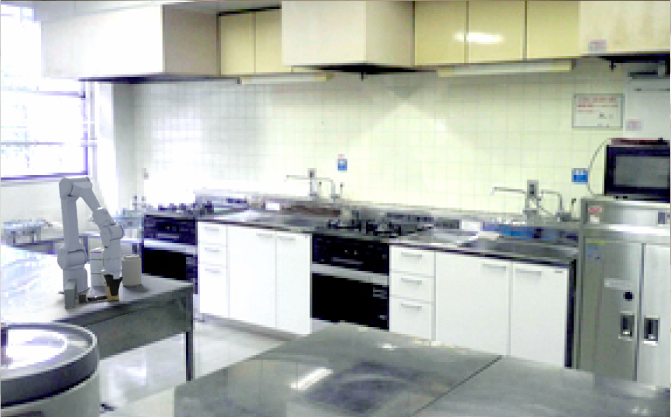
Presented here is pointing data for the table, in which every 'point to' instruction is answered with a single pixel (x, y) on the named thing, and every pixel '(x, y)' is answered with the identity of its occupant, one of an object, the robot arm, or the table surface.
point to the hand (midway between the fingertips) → (113, 294)
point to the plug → (108, 296)
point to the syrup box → (97, 267)
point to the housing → (70, 293)
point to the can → (131, 270)
